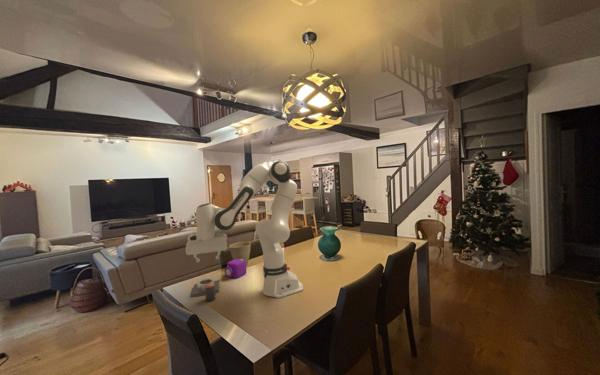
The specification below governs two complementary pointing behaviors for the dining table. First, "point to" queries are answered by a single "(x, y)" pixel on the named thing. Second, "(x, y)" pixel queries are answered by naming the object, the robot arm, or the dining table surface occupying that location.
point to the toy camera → (235, 268)
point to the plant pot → (240, 251)
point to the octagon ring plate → (200, 287)
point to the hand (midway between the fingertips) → (207, 260)
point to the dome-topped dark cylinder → (210, 292)
